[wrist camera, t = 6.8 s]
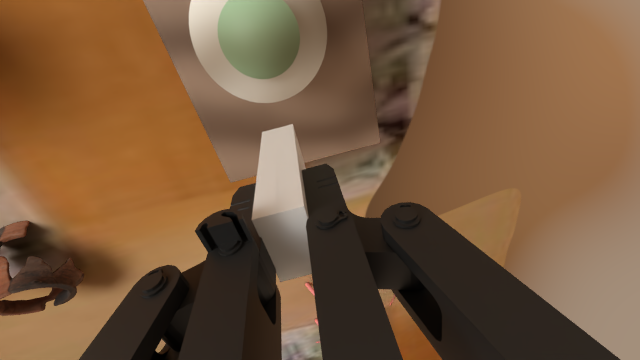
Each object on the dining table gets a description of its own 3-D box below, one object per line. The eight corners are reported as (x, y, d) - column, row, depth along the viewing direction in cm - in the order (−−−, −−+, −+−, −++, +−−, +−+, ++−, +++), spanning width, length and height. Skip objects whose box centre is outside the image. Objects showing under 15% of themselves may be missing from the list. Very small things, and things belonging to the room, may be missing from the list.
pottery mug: (50, 205, 32) (44, 272, 28) (103, 237, 40) (104, 293, 36) (-81, 247, 30) (-109, 328, 25) (4, 272, 37) (-7, 337, 33)
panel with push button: (76, -162, 15) (-95, -305, 8) (325, -233, 15) (365, -442, 8) (233, 174, 27) (216, 232, 20) (375, 136, 27) (409, 182, 20)
